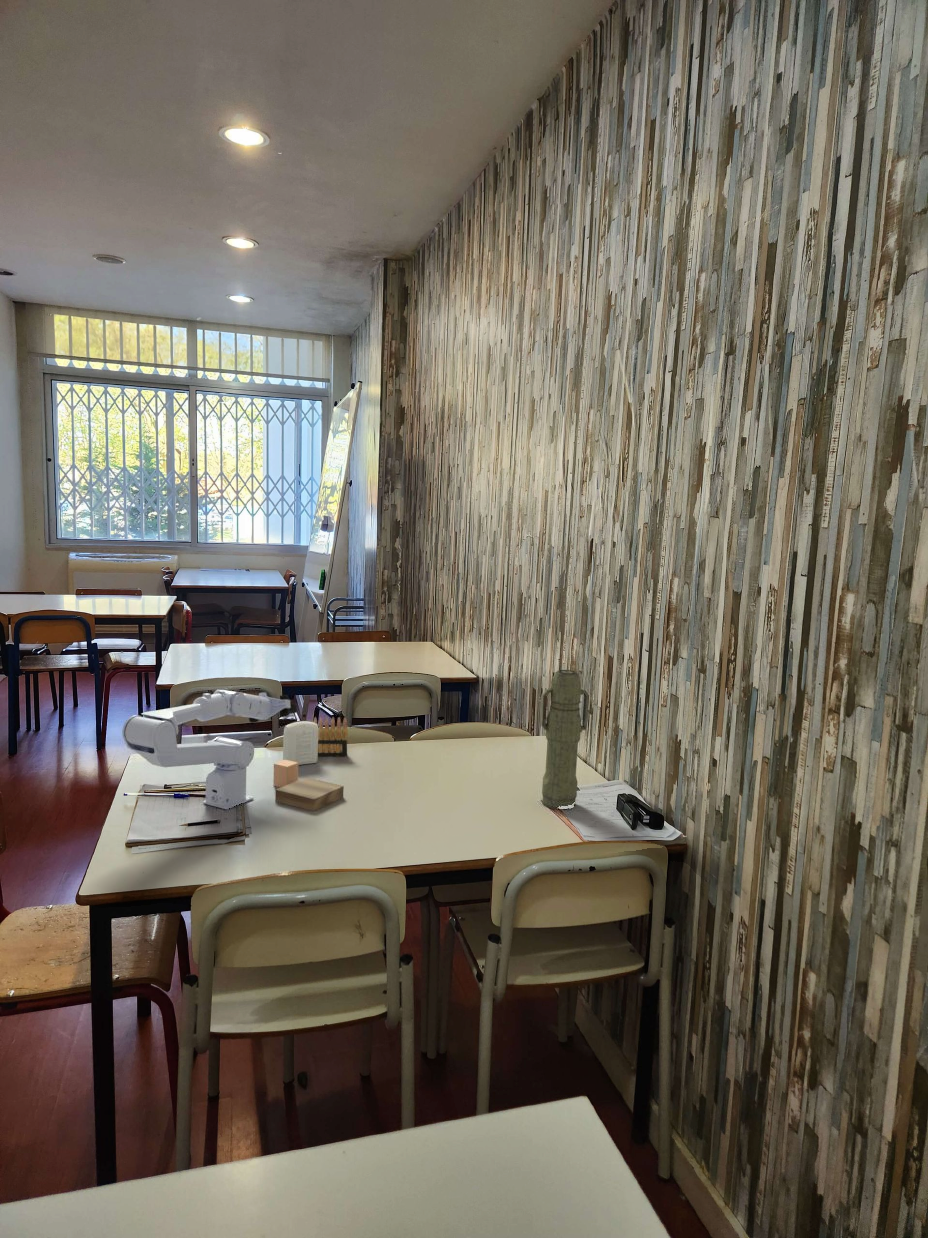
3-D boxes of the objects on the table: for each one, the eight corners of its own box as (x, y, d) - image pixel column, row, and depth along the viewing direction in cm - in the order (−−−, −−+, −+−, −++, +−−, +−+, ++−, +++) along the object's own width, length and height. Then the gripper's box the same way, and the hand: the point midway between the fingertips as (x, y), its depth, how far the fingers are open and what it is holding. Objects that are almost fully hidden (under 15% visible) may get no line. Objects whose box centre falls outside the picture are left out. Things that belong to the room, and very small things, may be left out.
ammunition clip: (311, 757, 235) (312, 717, 234) (311, 755, 237) (312, 716, 236) (347, 756, 237) (348, 717, 236) (346, 754, 239) (348, 716, 238)
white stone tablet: (313, 759, 233) (315, 718, 232) (319, 763, 230) (320, 721, 228) (280, 763, 227) (281, 721, 226) (285, 767, 224) (286, 725, 222)
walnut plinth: (313, 811, 191) (313, 799, 191) (275, 801, 197) (275, 789, 197) (343, 797, 202) (343, 786, 202) (306, 788, 207) (306, 777, 207)
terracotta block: (286, 789, 206) (287, 766, 206) (273, 785, 208) (273, 763, 208) (297, 784, 210) (298, 762, 210) (284, 781, 212) (285, 759, 212)
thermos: (531, 799, 208) (539, 668, 204) (573, 797, 210) (582, 668, 206) (542, 811, 199) (550, 674, 195) (585, 809, 202) (595, 675, 198)
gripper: (275, 685, 198) (305, 692, 211) (227, 695, 203) (260, 701, 216) (276, 713, 197) (307, 718, 209) (229, 722, 201) (261, 726, 214)
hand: (283, 711), depth 212 cm, fingers open, 7 cm apart
